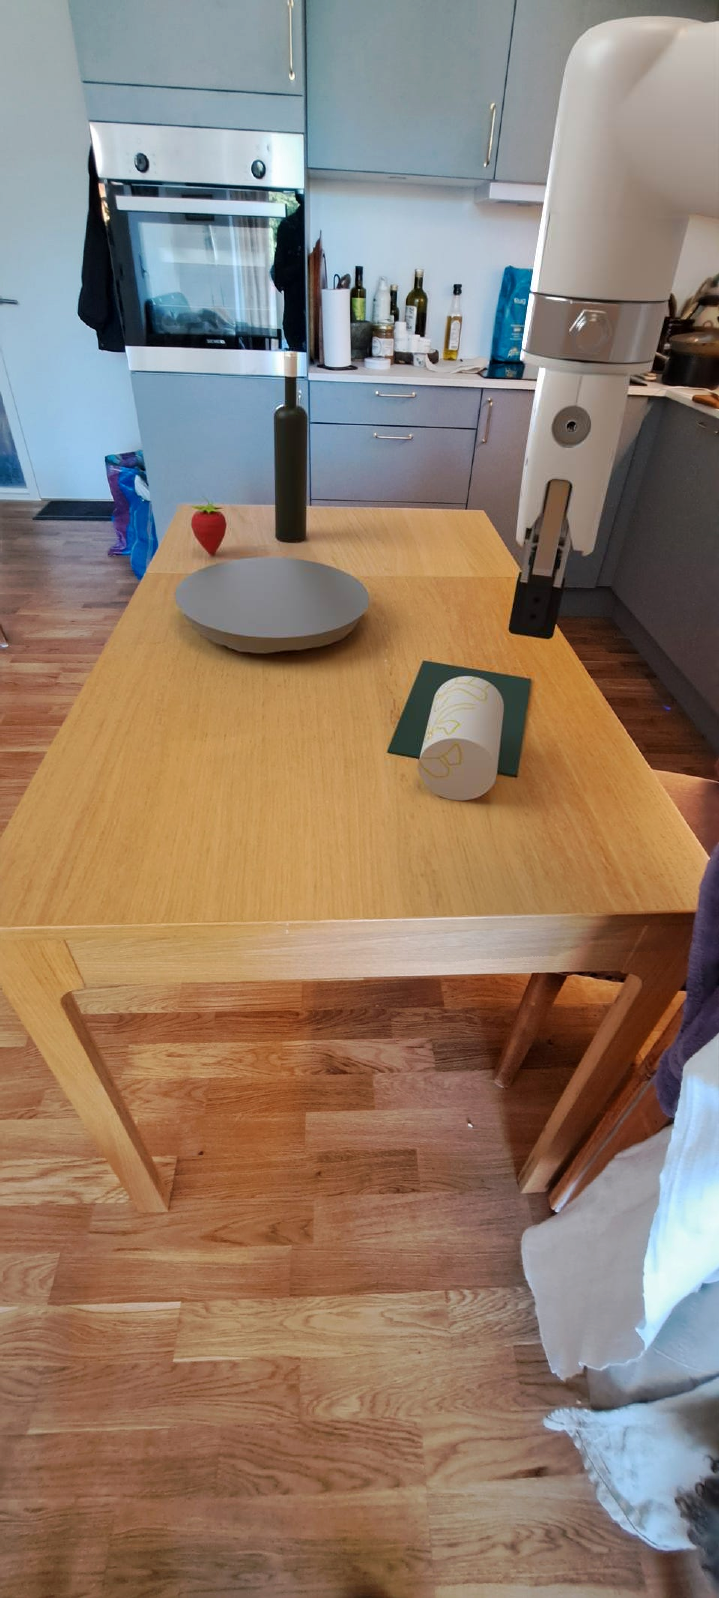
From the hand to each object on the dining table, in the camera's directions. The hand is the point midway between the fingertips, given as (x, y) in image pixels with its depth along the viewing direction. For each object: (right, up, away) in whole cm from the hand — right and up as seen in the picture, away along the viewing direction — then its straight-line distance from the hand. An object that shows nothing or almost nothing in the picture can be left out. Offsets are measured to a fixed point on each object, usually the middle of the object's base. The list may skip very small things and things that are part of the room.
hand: (530, 631), depth 53 cm
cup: (-2, -9, +22) cm, 24 cm away
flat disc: (-25, +14, +56) cm, 63 cm away
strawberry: (-38, +30, +75) cm, 90 cm away
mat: (+1, -1, +39) cm, 39 cm away
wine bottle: (-25, +37, +84) cm, 96 cm away
